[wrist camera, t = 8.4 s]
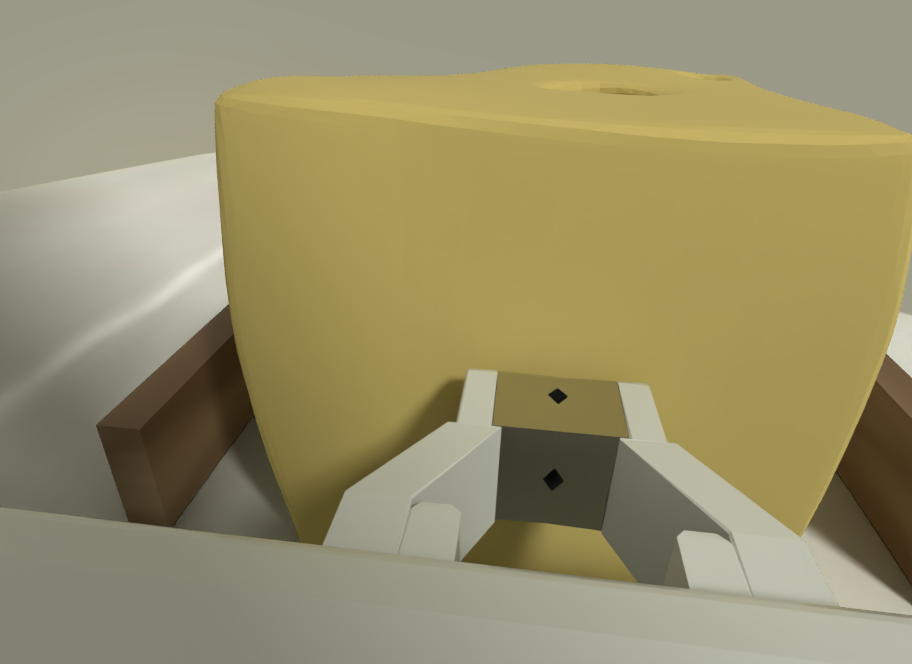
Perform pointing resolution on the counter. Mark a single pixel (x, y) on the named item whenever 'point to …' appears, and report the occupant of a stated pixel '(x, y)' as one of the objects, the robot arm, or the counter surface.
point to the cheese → (558, 270)
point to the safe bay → (229, 409)
